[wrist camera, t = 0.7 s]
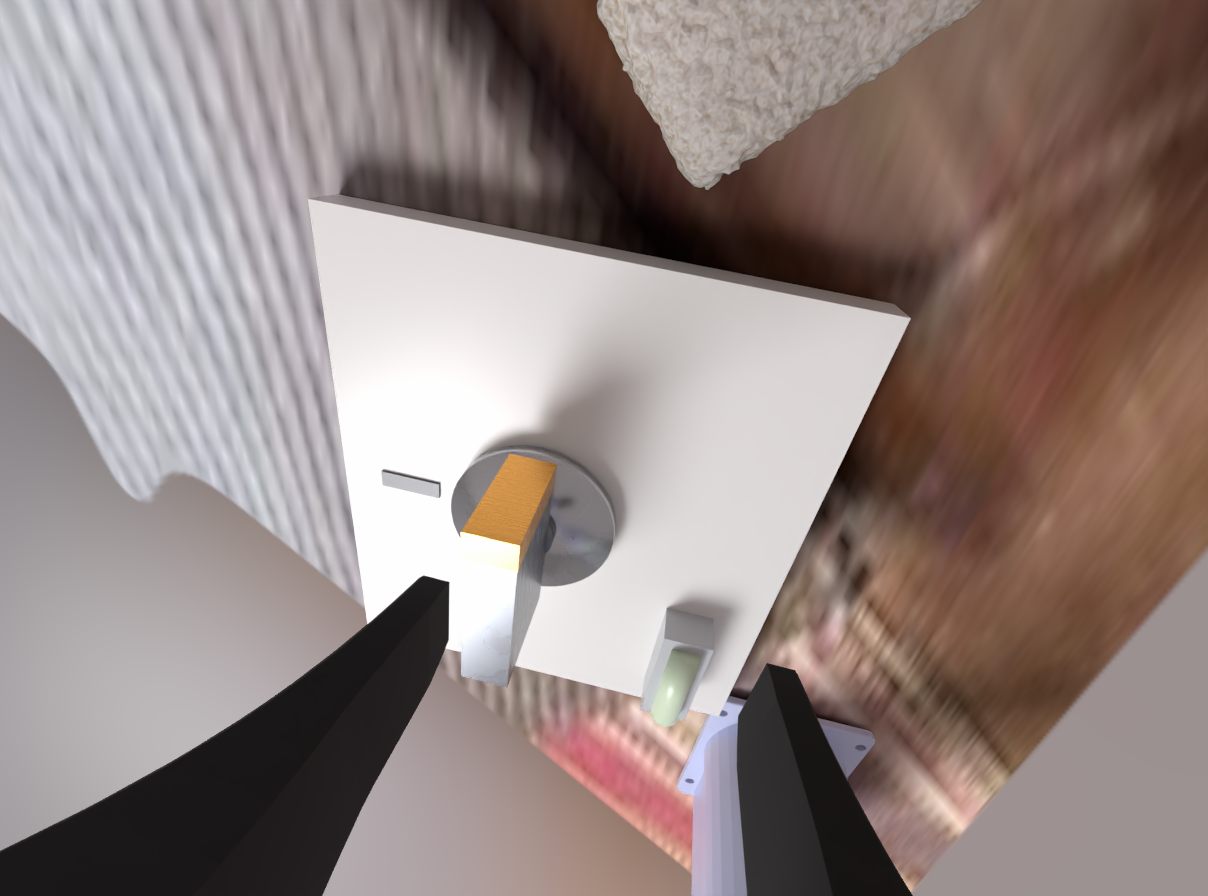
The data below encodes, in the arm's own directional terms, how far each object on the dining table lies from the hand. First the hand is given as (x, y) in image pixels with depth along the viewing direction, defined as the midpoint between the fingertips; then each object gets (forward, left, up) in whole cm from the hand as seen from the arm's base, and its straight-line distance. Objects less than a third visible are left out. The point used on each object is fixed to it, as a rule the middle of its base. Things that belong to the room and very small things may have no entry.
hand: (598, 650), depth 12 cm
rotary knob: (-3, +3, -8) cm, 9 cm away
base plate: (-3, +2, -10) cm, 10 cm away
